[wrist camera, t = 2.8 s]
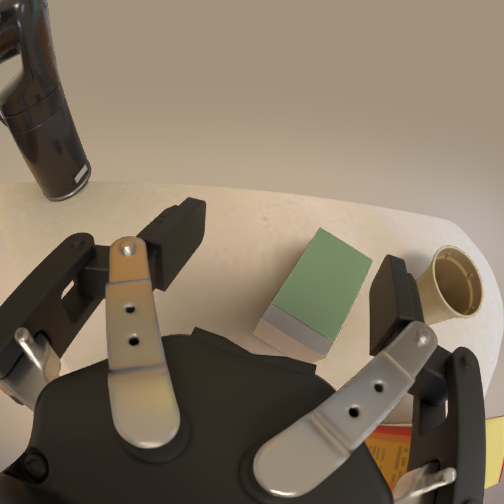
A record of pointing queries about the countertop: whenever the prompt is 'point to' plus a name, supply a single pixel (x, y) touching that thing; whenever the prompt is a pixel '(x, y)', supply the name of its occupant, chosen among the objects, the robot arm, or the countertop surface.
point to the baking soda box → (398, 446)
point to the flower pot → (450, 287)
